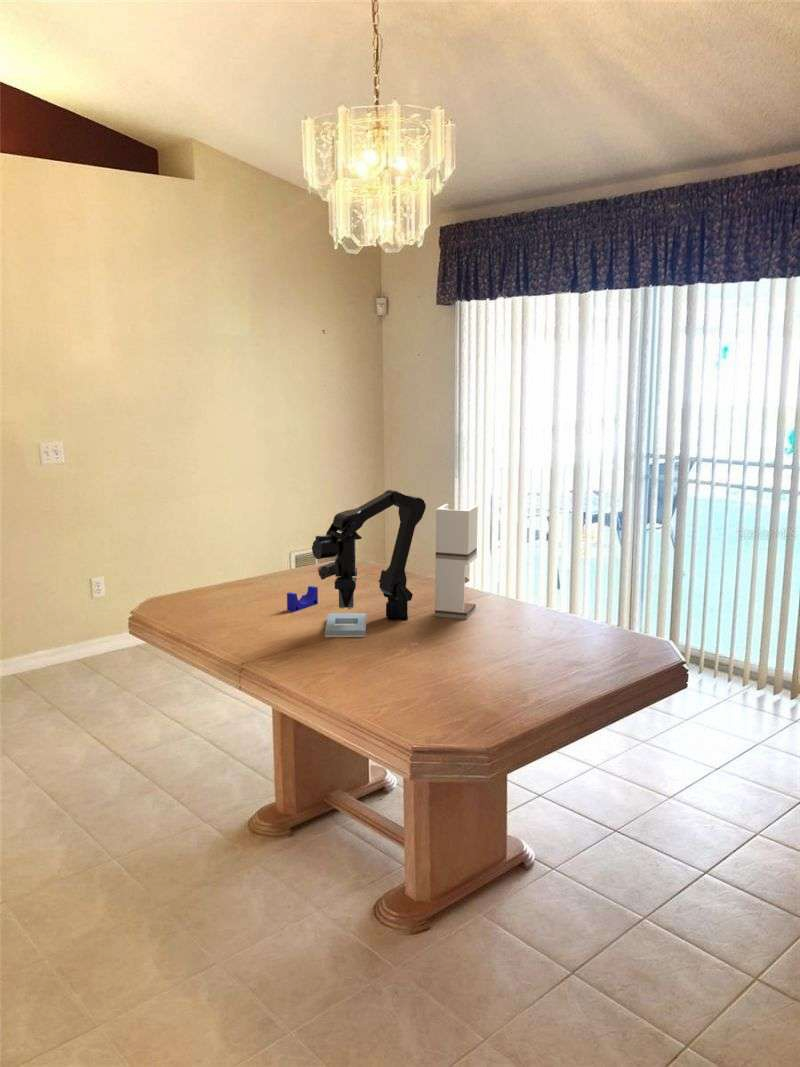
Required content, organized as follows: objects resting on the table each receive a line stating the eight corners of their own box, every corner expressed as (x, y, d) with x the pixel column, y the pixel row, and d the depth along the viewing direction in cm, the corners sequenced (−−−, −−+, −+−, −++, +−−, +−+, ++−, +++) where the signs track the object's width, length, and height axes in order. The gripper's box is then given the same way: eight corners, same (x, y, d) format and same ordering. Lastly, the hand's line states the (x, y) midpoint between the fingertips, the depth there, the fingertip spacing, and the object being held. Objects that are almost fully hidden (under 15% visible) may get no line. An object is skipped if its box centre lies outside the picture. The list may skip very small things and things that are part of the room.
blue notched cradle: (307, 602, 297) (307, 585, 296) (317, 604, 295) (317, 587, 294) (283, 610, 288) (283, 592, 286) (294, 612, 285) (293, 594, 284)
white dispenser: (466, 619, 277) (469, 511, 271) (434, 616, 281) (436, 509, 274) (475, 610, 288) (477, 505, 281) (444, 607, 291) (446, 503, 285)
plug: (353, 606, 269) (353, 584, 268) (353, 610, 265) (353, 588, 263) (339, 606, 269) (339, 584, 268) (338, 610, 265) (338, 588, 263)
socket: (366, 619, 277) (366, 613, 276) (365, 636, 259) (365, 630, 259) (328, 619, 277) (328, 613, 276) (325, 636, 259) (324, 630, 258)
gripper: (321, 548, 272) (322, 596, 275) (317, 561, 254) (318, 613, 257) (356, 548, 273) (357, 596, 276) (355, 561, 254) (355, 613, 257)
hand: (346, 604), depth 267 cm, fingers closed on plug, 4 cm apart
